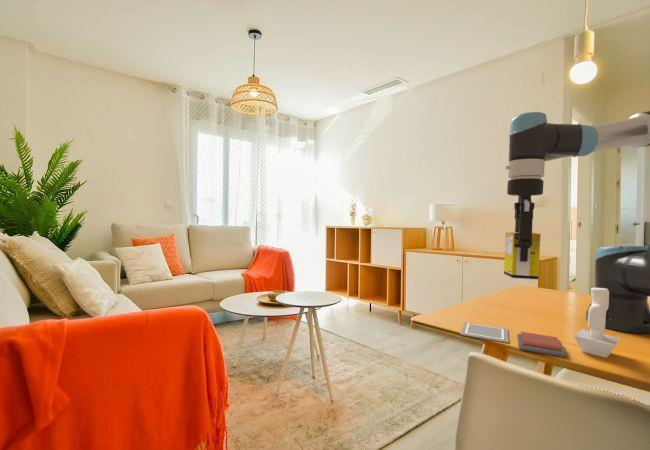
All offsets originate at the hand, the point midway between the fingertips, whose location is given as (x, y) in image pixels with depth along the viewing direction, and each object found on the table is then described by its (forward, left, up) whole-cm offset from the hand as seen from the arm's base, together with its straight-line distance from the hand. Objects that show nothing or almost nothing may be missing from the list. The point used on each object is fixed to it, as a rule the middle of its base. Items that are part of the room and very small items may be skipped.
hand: (520, 272), depth 83 cm
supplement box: (0, 0, -1) cm, 1 cm away
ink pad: (-4, +1, -17) cm, 18 cm away
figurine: (-16, -2, -17) cm, 24 cm away
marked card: (+8, -3, -17) cm, 19 cm away
